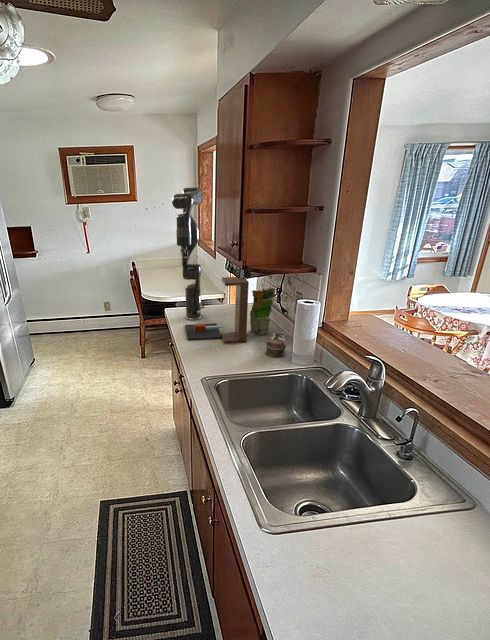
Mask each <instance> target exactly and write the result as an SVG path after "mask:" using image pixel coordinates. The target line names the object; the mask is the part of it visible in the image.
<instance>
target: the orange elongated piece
mask: <svg viewBox="0 0 490 640" xmlns="http://www.w3.org/2000/svg"><path fill="white" fill-rule="evenodd" d="M205 324H206V323H194V324H193V325H194V331H195V332H206V329H218V330H219V329H224V325H217V326H205Z"/></svg>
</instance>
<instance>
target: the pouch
mask: <svg viewBox="0 0 490 640" xmlns="http://www.w3.org/2000/svg"><path fill="white" fill-rule="evenodd" d="M275 291H276V288H274V287H269V288H266V289H265V288H264V287H263V288H262V289H261V290H260V289H259V290H255V289H253V290H251V293H252V297H253V300H252V301H253V302H252V305H251V309H250V314H249V317H250V318H249V320H250V321H249V323H250V332H253V333H257V334H258V335H259V336H262V335H263V336H265V335H268V333H269V330H270V322H271V318H270V317H271V313H272V312H273V309H272V306H273V305H274V298H275V294H276V292H275Z"/></svg>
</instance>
